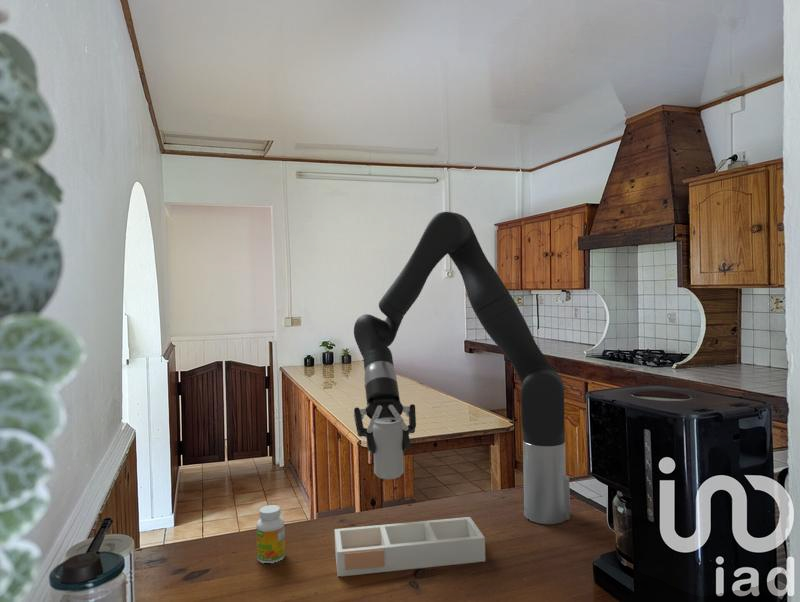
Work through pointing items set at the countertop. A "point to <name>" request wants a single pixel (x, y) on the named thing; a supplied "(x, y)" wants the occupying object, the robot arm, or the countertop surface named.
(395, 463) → the beverage can
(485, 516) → the countertop surface
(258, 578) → the countertop surface
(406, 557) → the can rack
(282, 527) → the supplement bottle
